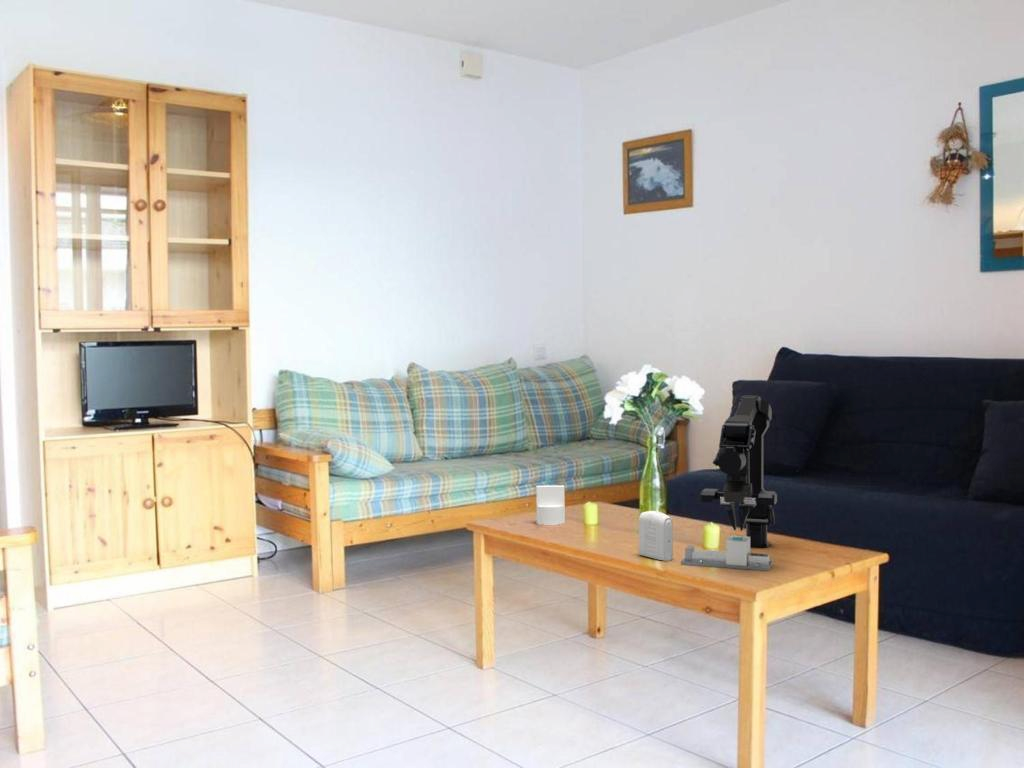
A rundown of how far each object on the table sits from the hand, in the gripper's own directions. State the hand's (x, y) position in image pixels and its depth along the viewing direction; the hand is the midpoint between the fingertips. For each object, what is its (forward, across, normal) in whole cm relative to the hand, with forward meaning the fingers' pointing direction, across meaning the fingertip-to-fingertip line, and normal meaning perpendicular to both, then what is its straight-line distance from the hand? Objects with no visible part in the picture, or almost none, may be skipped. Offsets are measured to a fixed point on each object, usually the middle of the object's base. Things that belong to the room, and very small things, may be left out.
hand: (738, 530), depth 247 cm
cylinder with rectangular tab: (+9, -65, +39) cm, 76 cm away
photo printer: (+9, -22, +2) cm, 24 cm away
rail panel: (+9, -3, 0) cm, 9 cm away
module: (+8, 0, 0) cm, 8 cm away
